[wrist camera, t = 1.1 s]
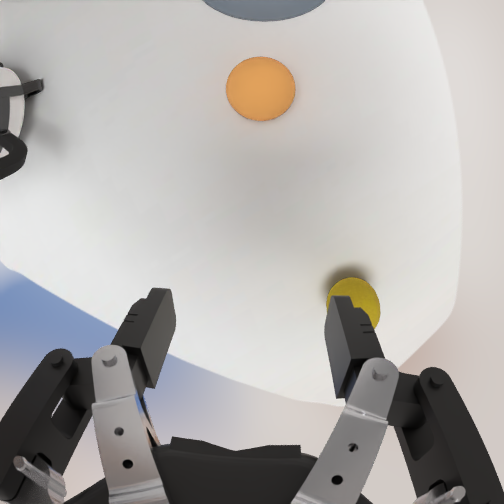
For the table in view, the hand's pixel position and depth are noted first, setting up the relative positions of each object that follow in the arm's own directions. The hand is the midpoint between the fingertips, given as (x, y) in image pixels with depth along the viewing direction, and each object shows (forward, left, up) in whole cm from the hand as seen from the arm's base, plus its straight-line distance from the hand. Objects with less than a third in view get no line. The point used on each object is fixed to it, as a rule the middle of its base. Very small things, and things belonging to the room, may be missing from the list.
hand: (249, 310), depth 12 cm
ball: (0, +10, -15) cm, 18 cm away
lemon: (+10, -10, -18) cm, 23 cm away
